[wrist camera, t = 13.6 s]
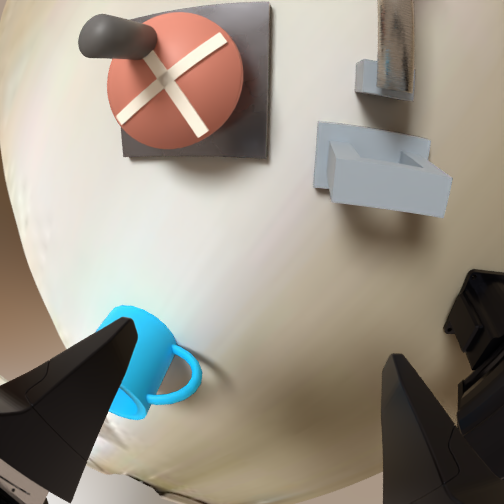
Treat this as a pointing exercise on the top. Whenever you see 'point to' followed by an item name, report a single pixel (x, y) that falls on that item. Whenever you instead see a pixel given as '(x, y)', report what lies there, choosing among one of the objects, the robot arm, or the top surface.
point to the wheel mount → (253, 89)
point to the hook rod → (395, 45)
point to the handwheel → (167, 75)
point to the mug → (149, 365)
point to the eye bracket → (379, 161)
